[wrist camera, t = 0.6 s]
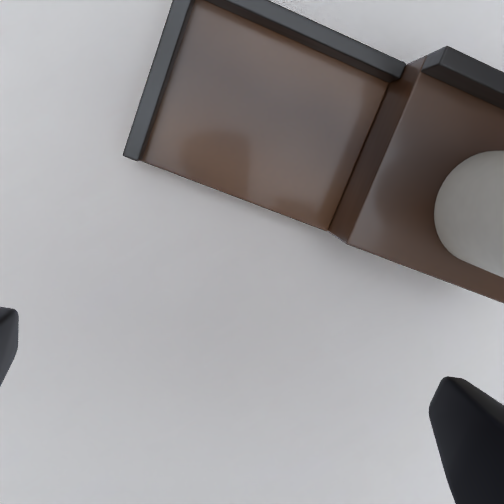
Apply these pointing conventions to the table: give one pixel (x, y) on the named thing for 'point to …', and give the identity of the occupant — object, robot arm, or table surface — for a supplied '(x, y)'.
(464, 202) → the bottle
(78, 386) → the table surface
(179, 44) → the tray
